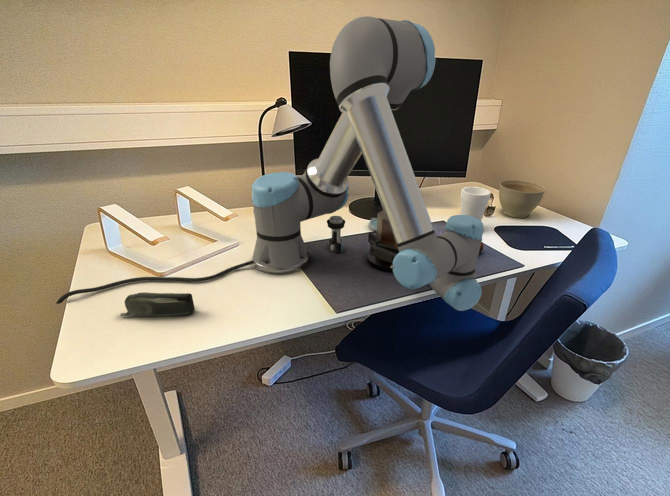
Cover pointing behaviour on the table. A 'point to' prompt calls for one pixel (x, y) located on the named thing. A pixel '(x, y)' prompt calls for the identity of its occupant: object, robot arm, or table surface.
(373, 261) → the base
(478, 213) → the foam cup
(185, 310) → the dark green rounded block
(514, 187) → the planter bowl
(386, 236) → the pen carousel
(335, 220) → the push button
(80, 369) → the table surface
